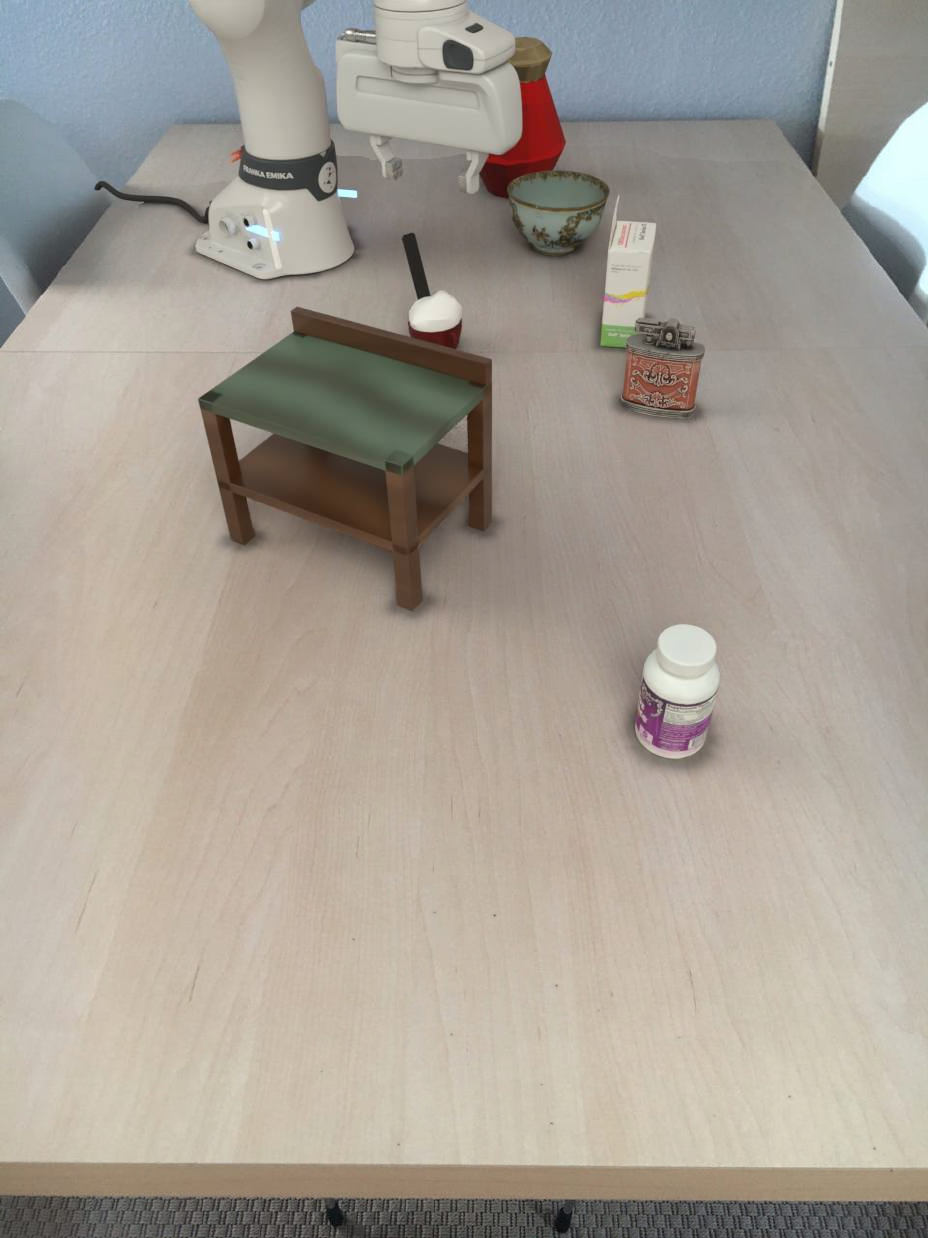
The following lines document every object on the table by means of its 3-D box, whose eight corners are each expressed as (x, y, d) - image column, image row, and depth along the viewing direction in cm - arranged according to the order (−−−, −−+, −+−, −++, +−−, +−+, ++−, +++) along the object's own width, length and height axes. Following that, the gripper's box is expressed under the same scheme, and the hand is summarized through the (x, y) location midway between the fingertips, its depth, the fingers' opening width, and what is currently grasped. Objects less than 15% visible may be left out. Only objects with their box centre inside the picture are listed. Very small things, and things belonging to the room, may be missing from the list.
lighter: (697, 405, 107) (711, 319, 100) (691, 421, 105) (705, 334, 98) (623, 393, 109) (632, 308, 102) (616, 409, 107) (625, 323, 100)
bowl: (491, 259, 135) (491, 199, 129) (524, 221, 143) (526, 164, 138) (588, 274, 131) (592, 213, 125) (616, 234, 140) (621, 176, 134)
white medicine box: (641, 350, 116) (656, 224, 106) (598, 347, 117) (609, 221, 106) (646, 316, 122) (660, 194, 112) (606, 313, 123) (616, 191, 112)
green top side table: (412, 611, 84) (400, 443, 73) (230, 540, 92) (192, 376, 80) (492, 522, 93) (492, 358, 81) (319, 463, 100) (296, 305, 89)
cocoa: (468, 364, 114) (466, 263, 106) (414, 369, 114) (408, 268, 105) (455, 326, 121) (453, 228, 113) (404, 330, 120) (398, 233, 112)
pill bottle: (627, 709, 76) (640, 618, 69) (695, 704, 76) (714, 613, 70) (642, 765, 72) (657, 674, 65) (714, 759, 72) (736, 668, 66)
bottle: (519, 163, 161) (522, 22, 147) (583, 184, 154) (592, 39, 140) (449, 190, 153) (446, 44, 139) (513, 213, 146) (516, 62, 132)
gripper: (314, 33, 97) (332, 179, 106) (498, 55, 89) (499, 210, 98) (351, 18, 101) (365, 160, 110) (530, 38, 93) (529, 189, 102)
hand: (430, 184), depth 104 cm, fingers open, 8 cm apart
